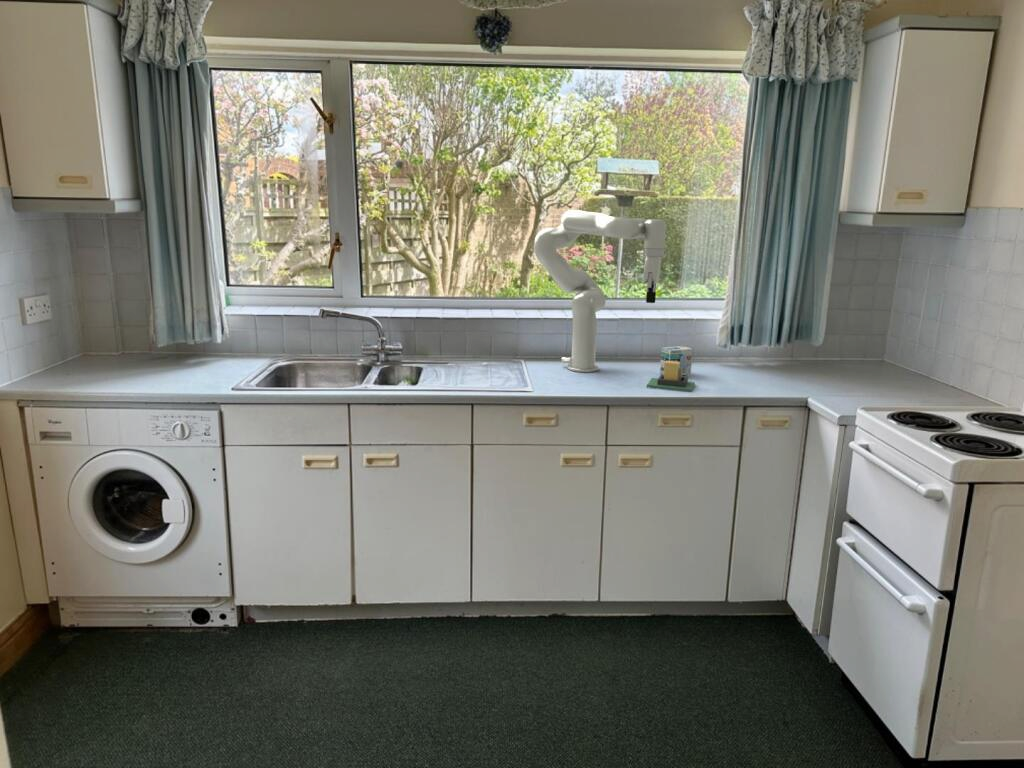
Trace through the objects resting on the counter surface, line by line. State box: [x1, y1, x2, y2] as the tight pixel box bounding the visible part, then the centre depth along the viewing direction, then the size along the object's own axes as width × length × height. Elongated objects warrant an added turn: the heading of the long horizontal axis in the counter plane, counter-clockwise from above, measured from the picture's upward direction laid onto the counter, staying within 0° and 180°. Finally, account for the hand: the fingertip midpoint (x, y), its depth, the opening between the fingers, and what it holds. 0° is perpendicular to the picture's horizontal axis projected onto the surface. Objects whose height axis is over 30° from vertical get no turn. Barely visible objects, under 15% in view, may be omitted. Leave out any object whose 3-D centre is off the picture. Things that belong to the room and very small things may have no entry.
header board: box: [646, 374, 696, 393], centre depth 269 cm, size 16×12×3 cm
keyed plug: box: [664, 361, 682, 381], centre depth 268 cm, size 6×4×8 cm, turn 70°
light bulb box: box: [659, 345, 694, 377], centre depth 287 cm, size 11×7×11 cm, turn 112°
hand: (650, 302), depth 275 cm, fingers closed
